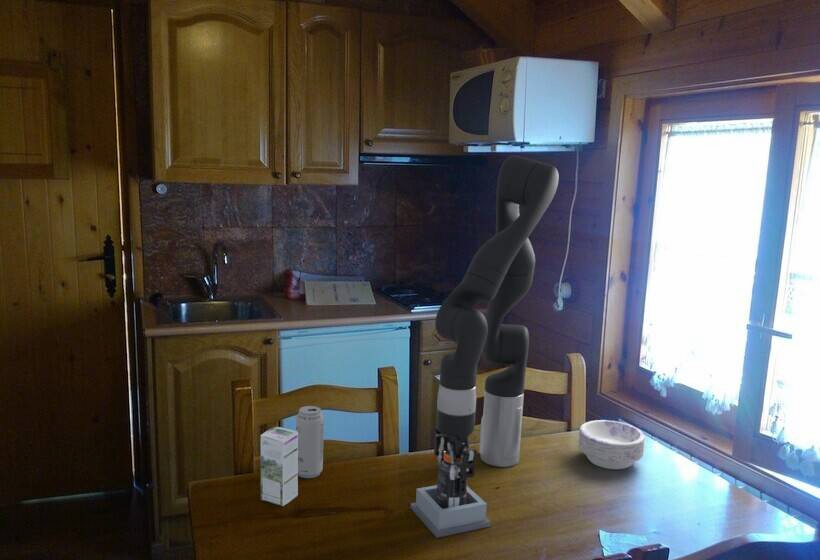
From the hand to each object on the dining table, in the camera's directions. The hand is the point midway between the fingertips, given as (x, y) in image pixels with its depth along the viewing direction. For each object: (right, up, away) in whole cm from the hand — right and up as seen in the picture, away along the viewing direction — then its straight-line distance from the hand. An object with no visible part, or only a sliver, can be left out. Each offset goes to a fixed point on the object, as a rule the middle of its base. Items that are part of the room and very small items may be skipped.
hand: (451, 486), depth 138 cm
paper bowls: (+40, -3, +30) cm, 50 cm away
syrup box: (-35, -4, +6) cm, 36 cm away
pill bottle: (0, -4, +1) cm, 4 cm away
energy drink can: (-31, -2, +17) cm, 36 cm away
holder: (0, -6, +1) cm, 7 cm away
